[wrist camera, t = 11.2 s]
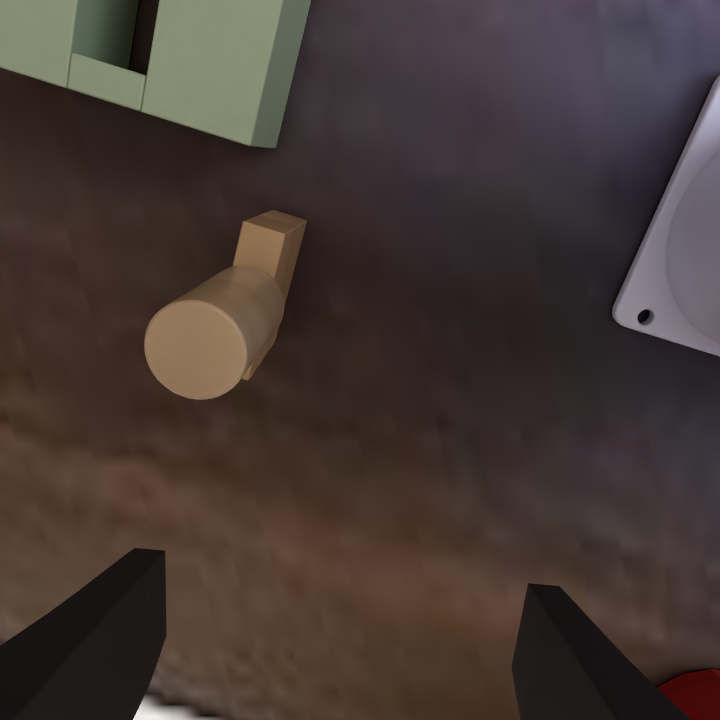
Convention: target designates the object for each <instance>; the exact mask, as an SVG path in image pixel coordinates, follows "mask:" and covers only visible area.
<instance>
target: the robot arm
mask: <svg viewBox="0 0 720 720" xmlns="http://www.w3.org/2000/svg"><path fill="white" fill-rule="evenodd" d="M645 309H647V310H649V312H650V314H649V317H648V319H647V320H646V321H643V322H638V319H637V318H638V314H639V313H640V312H641V311H643V310H645ZM612 315H613V318H614V319H615V321H616V322H617V323H619V324H620V325H622V326H624V327H627V328H630V329H633V330H637V331H640V332H643V333H646V334H649V335H653V336H656V337H659V338H662V339H666V340H669V341H672V342H675V343H678V344H682V345H685V346H688V347H691V348H694V349H698V350H701V351H704V352H707V353H710V354H714V355H717V356H720V75H719V76H718V77H717V79H716V80H715V82H714V83H713V86H712V88H711V90H710V92H709V94H708V97H707V99H706V101H705V103H704V105H703V108H702V110H701V112H700V114H699V117H698V119H697V121H696V123H695V125H694V128H693V130H692V132H691V134H690V137H689V139H688V141H687V143H686V145H685V148H684V150H683V152H682V154H681V157H680V159H679V161H678V163H677V165H676V168H675V170H674V172H673V174H672V177H671V179H670V181H669V183H668V185H667V188H666V190H665V192H664V194H663V197H662V199H661V201H660V203H659V205H658V208H657V210H656V212H655V214H654V217H653V219H652V221H651V223H650V225H649V228H648V230H647V232H646V234H645V236H644V239H643V241H642V243H641V245H640V248H639V250H638V252H637V254H636V256H635V259H634V261H633V263H632V265H631V268H630V270H629V272H628V274H627V276H626V279H625V281H624V283H623V285H622V288H621V290H620V292H619V294H618V296H617V299H616V301H615V303H614V305H613V309H612ZM165 638H166V577H165V551H162V550H151V549H140V548H134V549H133V550H131V551H130V552H129V553H127V554H126V555H125V556H123V557H122V558H121V559H119V560H118V561H117V562H115V563H114V564H113V565H112V566H110V567H109V568H108V569H106V570H105V571H104V572H102V573H101V574H100V575H99V576H97V577H96V578H95V579H93V580H92V581H91V582H89V583H88V584H87V585H86V586H84V587H83V588H82V589H80V590H79V591H78V592H76V593H75V594H74V595H72V596H71V597H70V598H68V599H67V600H66V601H64V602H63V603H61V604H60V605H59V606H57V607H56V608H55V609H53V610H52V611H51V612H49V613H48V614H46V615H45V616H43V617H42V618H40V619H39V620H38V621H36V622H35V623H33V624H32V625H30V626H29V627H27V628H26V629H24V630H23V631H21V632H20V633H18V634H17V635H16V636H14V637H13V638H11V639H10V640H8V641H7V642H5V643H4V644H2V645H1V646H0V720H133V718H134V716H135V714H136V712H137V710H138V708H139V706H140V704H141V702H142V700H143V697H144V695H145V693H146V691H147V689H148V687H149V684H150V681H151V679H152V676H153V673H154V670H155V667H156V665H157V662H158V659H159V656H160V653H161V650H162V647H163V644H164V641H165ZM512 672H513V678H514V684H515V691H516V697H517V702H518V708H519V714H520V719H521V720H691V719H690V718H689V717H688V716H687V715H686V714H685V713H683V712H682V711H681V710H680V709H679V708H678V707H677V706H676V705H675V704H674V703H673V702H672V701H671V700H670V699H668V698H667V697H666V696H665V695H664V694H663V693H662V692H661V691H660V690H659V689H658V688H657V687H656V686H654V685H653V684H652V683H651V682H650V681H649V680H648V679H647V678H646V677H645V676H644V675H643V674H642V673H641V672H640V671H639V670H638V669H637V668H636V667H635V666H634V665H633V664H632V663H631V662H630V661H629V660H628V659H627V658H626V657H625V656H624V655H623V654H622V653H621V651H620V650H619V649H618V648H617V647H616V646H615V645H614V644H613V643H612V642H611V641H610V640H609V639H608V638H607V637H606V636H605V635H604V634H603V633H602V631H601V630H600V629H599V628H598V627H597V626H596V625H595V624H594V623H593V622H592V621H591V620H590V619H589V617H588V616H587V615H586V614H585V613H584V612H583V611H582V610H581V609H580V608H579V607H578V605H577V604H576V603H575V602H574V601H573V600H572V599H571V598H570V597H569V596H568V595H567V594H566V593H565V592H564V591H563V590H562V589H561V588H560V587H559V586H552V585H541V584H530V583H528V587H527V592H526V597H525V602H524V607H523V612H522V617H521V622H520V627H519V632H518V637H517V642H516V647H515V652H514V657H513V662H512Z"/></svg>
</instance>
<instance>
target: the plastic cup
mask: <svg viewBox="0 0 720 720" xmlns="http://www.w3.org/2000/svg"><path fill="white" fill-rule="evenodd" d="M658 689H659V690H660V691H661V692H662V693H663V694H664V695H665V696H666V697H667V698H668V699H670V700H671V701H672V702H673V703H674V704H675V705H676V706H677V707H678V708H679V709H680V710H681V711H682V712H683V713H685V714H686V715H687V716H688V717H689V718H690V719H691V720H720V670H716V669H709V670H703V671H697V672H691V673H685V674H682V675H680V676H678V677H676V678H674V679H672V680H670V681H668V682H666V683H664V684H662V685H660V686H659V687H658Z"/></svg>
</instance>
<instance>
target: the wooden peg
mask: <svg viewBox="0 0 720 720" xmlns="http://www.w3.org/2000/svg"><path fill="white" fill-rule="evenodd" d="M306 223H307V221H306V220H304V219H301V218H298V217H295V216H292V215H288V214H285V213H282V212H279V211H276V210H271V211H269V212H266V213H263V214H261V215H258V216H255V217H253V218H250V219H248V220H245V221H243V223H242V227H241V231H240V236H239V240H238V244H237V249H236V253H235V257H234V262H233V266H232V267H229V268H227V269H225V270H223V271H221V272H220V273H218V274H216V275H215V276H213V277H212V278H210V279H208V280H207V281H205V282H203V283H202V284H200V285H199V286H197V287H195V288H194V289H192V290H190V291H189V292H187V293H186V294H184V295H182V296H181V297H179V298H178V299H176V300H174V301H173V302H171V303H169V304H168V305H166V306H165V307H163V308H162V309H160V310H159V311H158V312H157V313H156V314H155V315H154V317H153V318H152V319H151V321H150V323H149V325H148V327H147V330H146V333H145V340H144V350H145V356H146V359H147V362H148V365H149V367H150V369H151V371H152V372H153V374H154V375H155V377H156V378H157V379H158V380H159V381H160V382H161V383H162V384H163V385H164V386H165V387H166V388H168V389H169V390H171V391H172V392H174V393H176V394H178V395H180V396H183V397H186V398H191V399H211V398H215V397H218V396H221V395H223V394H225V393H227V392H228V391H230V390H231V389H232V388H233V387H235V385H236V384H237V383H238V382H239V381H240V379H244V380H249V379H250V377H251V376H252V374H253V373H254V371H255V370H256V369H257V367H258V366H259V364H260V363H261V361H262V360H263V358H264V357H265V356H266V354H267V353H268V351H269V350H270V348H271V347H272V345H273V344H274V342H275V340H276V337H277V333H278V329H279V325H280V323H281V321H282V319H283V315H284V306H285V303H286V299H287V295H288V291H289V288H290V284H291V280H292V276H293V272H294V269H295V265H296V261H297V257H298V254H299V250H300V246H301V242H302V238H303V235H304V231H305V227H306Z"/></svg>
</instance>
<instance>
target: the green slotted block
mask: <svg viewBox="0 0 720 720" xmlns="http://www.w3.org/2000/svg"><path fill="white" fill-rule="evenodd" d="M310 3H311V0H159V6H158V12H157V18H156V24H155V30H154V36H153V42H152V48H151V54H150V60H149V66H148V72H147V76H146V75H143V74H140V73H136V72H133V71H130V70H128V68H129V61H130V55H131V48H132V42H133V36H134V29H135V23H136V16H137V10H138V4H139V0H0V68H3V69H7V70H10V71H13V72H16V73H19V74H22V75H26V76H29V77H32V78H35V79H38V80H42V81H45V82H48V83H51V84H54V85H57V86H61V87H64V88H68V89H70V90H73V91H76V92H80V93H83V94H86V95H89V96H92V97H95V98H99V99H102V100H105V101H108V102H111V103H114V104H118V105H121V106H124V107H127V108H130V109H133V110H137V111H141V112H143V113H146V114H149V115H152V116H156V117H159V118H162V119H165V120H168V121H171V122H175V123H178V124H181V125H184V126H187V127H190V128H194V129H197V130H200V131H203V132H206V133H209V134H213V135H216V136H219V137H222V138H225V139H228V140H232V141H235V142H238V143H241V144H244V145H247V146H254V147H263V148H273V149H275V148H276V145H277V141H278V137H279V133H280V129H281V125H282V120H283V116H284V112H285V108H286V104H287V99H288V95H289V91H290V87H291V83H292V79H293V74H294V70H295V66H296V62H297V58H298V53H299V49H300V45H301V41H302V37H303V33H304V28H305V24H306V20H307V16H308V12H309V7H310Z"/></svg>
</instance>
